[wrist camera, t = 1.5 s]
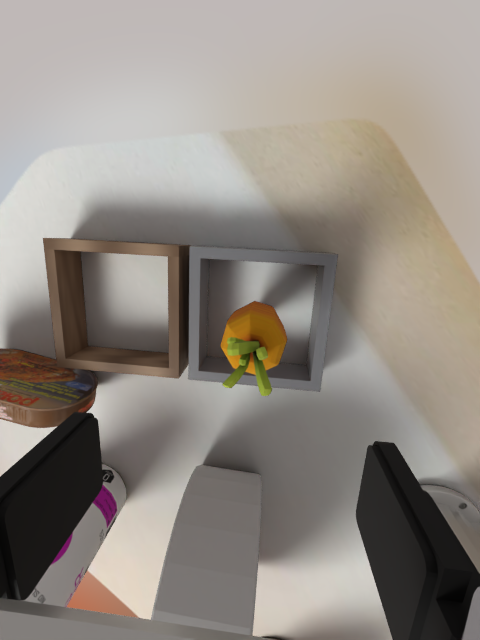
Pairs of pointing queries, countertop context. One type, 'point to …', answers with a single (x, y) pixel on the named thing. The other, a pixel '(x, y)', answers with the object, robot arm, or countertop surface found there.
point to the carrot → (253, 343)
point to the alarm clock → (213, 553)
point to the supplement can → (81, 544)
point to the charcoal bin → (283, 372)
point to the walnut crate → (72, 318)
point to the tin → (42, 389)
